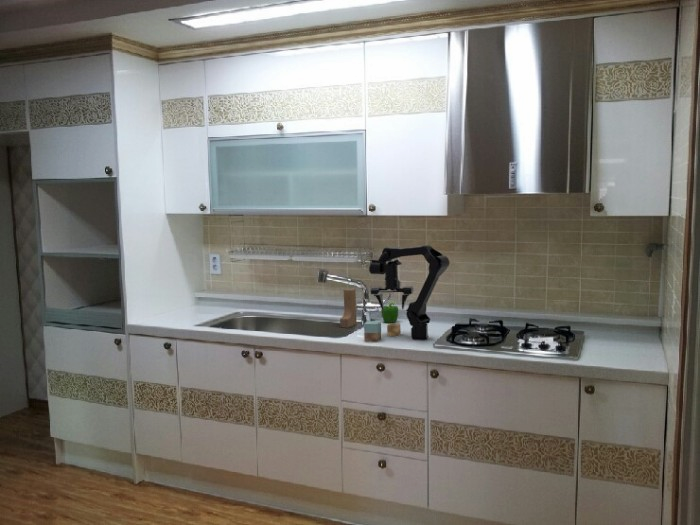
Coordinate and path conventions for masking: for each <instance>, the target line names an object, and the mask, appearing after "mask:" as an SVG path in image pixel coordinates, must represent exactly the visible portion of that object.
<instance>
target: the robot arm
mask: <svg viewBox="0 0 700 525" xmlns="http://www.w3.org/2000/svg"><path fill="white" fill-rule="evenodd" d="M421 255H422V256H423V258H424V259H425V261H426V262H427V263H428V264H429V266H428V273H427V274H428V275H427V277H426V278H425V281H424V283H423V285H422V287H421V290H420V292H419V294H418V296H417V298H416V300H415V301H413V302H409V304H408V307H407V308H406V310H405V311H406V312H405V313H406V314H405V315H406V318H407V319H408V323H409V325H410V327H411V328H410V336H411V340H423V341H425V340H427V339H428V338H429V337H430V336H429V332H428V331H429V330H428V329H429V328H428V324H430V321H431V318H430V317H429V315H428V314H427V304H428V301H429V299H430V297H431V296H432V293H433V291H434V289H435V286H436V284H437V282H438V280H439V278H440V277H441V276H442V275H443V274H444V273H445V272H446V270H447V268H448V267H449V266H450V260H449V257H448V256H446V255H444V254H442V253H441V252H440V251H439V250H436V249H435V248H433V247H432V246H431V244H425V245H418V246H410V247H400V246H388V247H384V248H383V250H382V253H381V255H380V257H378V259H377V258H376V259H371V262H370V263H369V267H368V271H369V273H370V274H371V275H382V276H383V275H384V286H385V287H384V288H383V287H382V286H373V287H371V289H370V295H373V297H375V298H376V300H377V301H378V303H379V306H380V307H381V310H382V309H384V306H385V305H384V299H383V297H384V296H383V294H384V293H402V295H401V309H402V310H404V308H405V305H406V301H407V299H408V297H409V296H411V295H412V294H413V293H414V292H415V288H414V287H413V286H411V285H409V286H408V285H407V286H403V287H401V281H400V279H399V273H398V269H399V268H398V266H400V265H402V262H401V261H400V260H399V259H400V258H403V257H411V256H421Z"/></svg>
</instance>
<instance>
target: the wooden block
mask: <svg viewBox="0 0 700 525" xmlns="http://www.w3.org/2000/svg"><path fill="white" fill-rule="evenodd" d="M356 296H357V293H356V288H345V289H343V305H344V306H343V307H344V311H343V315H342V317H340V318H339V324H340V325H339V327H340V328H343V329H344V328H345V329H346V328H347V329H349V328H351V327H354V326H356V325H358V319H357V297H356Z"/></svg>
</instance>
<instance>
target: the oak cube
mask: <svg viewBox="0 0 700 525" xmlns="http://www.w3.org/2000/svg"><path fill="white" fill-rule="evenodd" d="M386 328H387V329H386V332H387V333H386V334H387V337H399V336H401V330H402V328H401V323H399V322H398V323H397V322H390V323H388V324H387V325H386Z"/></svg>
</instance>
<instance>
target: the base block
mask: <svg viewBox="0 0 700 525" xmlns="http://www.w3.org/2000/svg"><path fill="white" fill-rule="evenodd" d="M363 336H364V342H369V341H371V342H373V343H374V342H375V343H376V342H377V343H378V342H380V341H381V340H382V330H381V331H380V332H379V333H363Z"/></svg>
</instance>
